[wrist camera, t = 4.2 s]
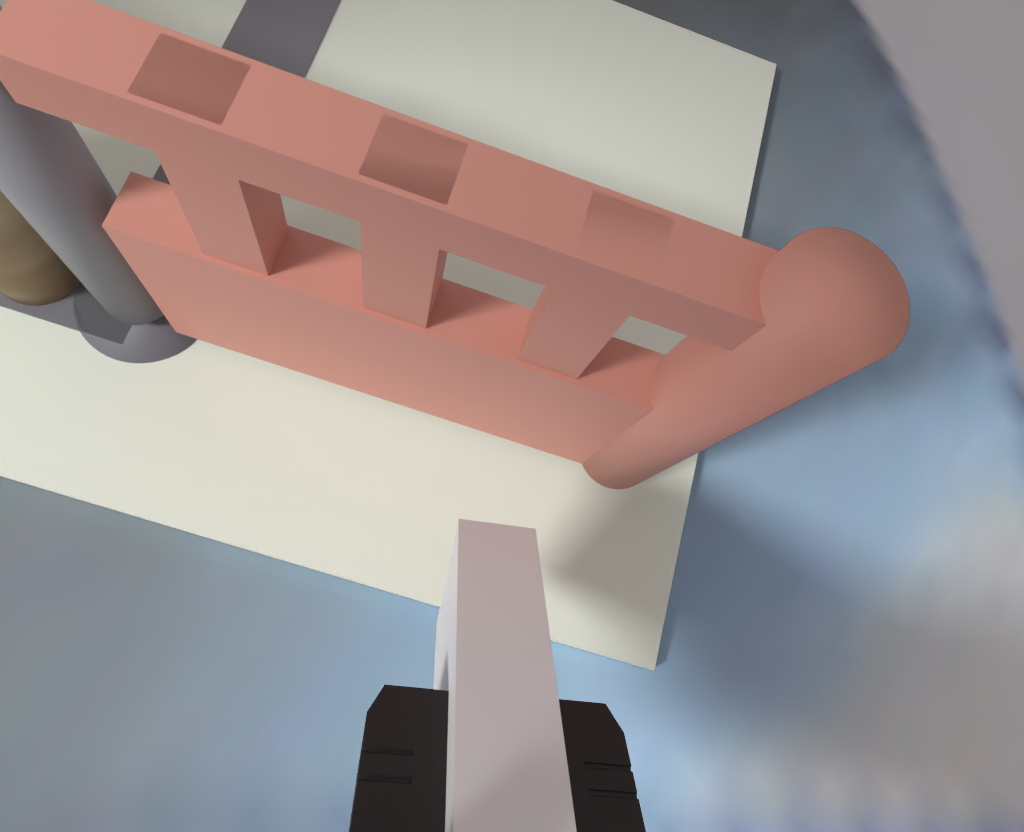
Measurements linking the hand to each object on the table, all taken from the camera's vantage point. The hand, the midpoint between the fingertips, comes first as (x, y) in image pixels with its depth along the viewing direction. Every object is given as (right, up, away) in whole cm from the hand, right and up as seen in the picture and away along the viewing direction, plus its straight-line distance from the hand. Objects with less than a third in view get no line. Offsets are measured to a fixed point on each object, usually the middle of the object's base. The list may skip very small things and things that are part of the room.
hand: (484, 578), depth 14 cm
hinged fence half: (-3, +4, +4) cm, 6 cm away
